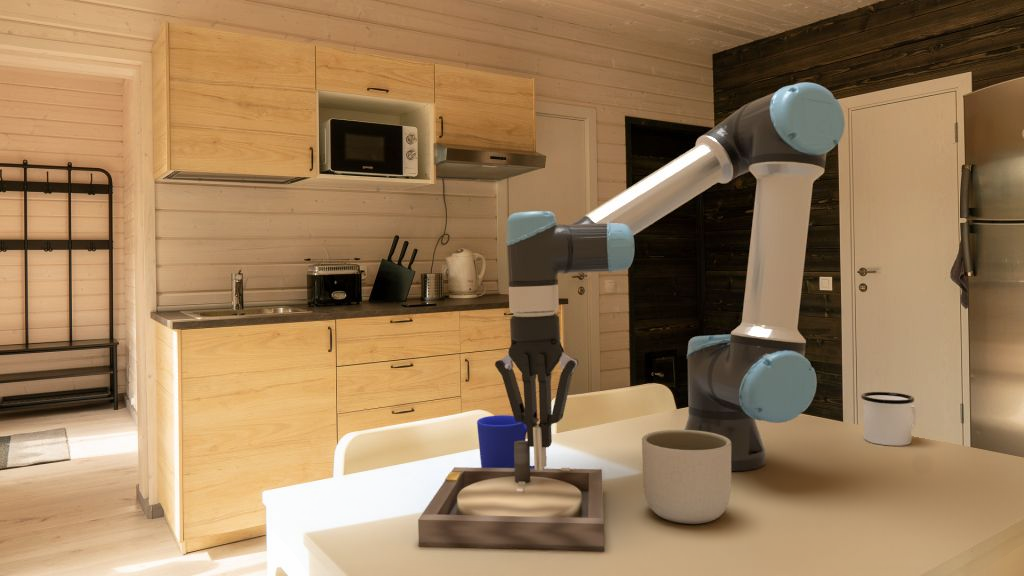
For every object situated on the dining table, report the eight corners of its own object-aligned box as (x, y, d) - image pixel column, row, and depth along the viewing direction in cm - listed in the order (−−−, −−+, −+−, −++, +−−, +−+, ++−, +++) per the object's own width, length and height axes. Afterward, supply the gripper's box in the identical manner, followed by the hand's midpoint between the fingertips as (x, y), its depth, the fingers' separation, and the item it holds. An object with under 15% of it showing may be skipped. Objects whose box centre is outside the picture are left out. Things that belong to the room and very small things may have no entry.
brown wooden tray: (602, 490, 114) (601, 467, 113) (604, 551, 90) (603, 521, 90) (454, 488, 116) (454, 465, 116) (418, 546, 92) (418, 517, 92)
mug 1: (544, 487, 116) (543, 426, 116) (472, 484, 118) (471, 424, 118) (551, 472, 124) (550, 416, 124) (484, 470, 126) (483, 414, 126)
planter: (717, 537, 94) (717, 455, 93) (629, 520, 100) (628, 444, 100) (741, 508, 104) (741, 435, 104) (660, 495, 111) (659, 426, 110)
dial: (582, 535, 93) (581, 472, 93) (447, 533, 95) (446, 471, 95) (581, 491, 111) (580, 438, 111) (467, 490, 113) (466, 438, 112)
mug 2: (888, 449, 135) (888, 402, 135) (850, 438, 144) (850, 393, 144) (935, 442, 139) (935, 397, 139) (895, 432, 148) (895, 389, 148)
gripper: (580, 311, 109) (586, 463, 110) (503, 312, 113) (509, 459, 114) (568, 315, 102) (575, 477, 103) (486, 316, 106) (493, 472, 107)
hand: (540, 467), depth 108 cm, fingers closed
